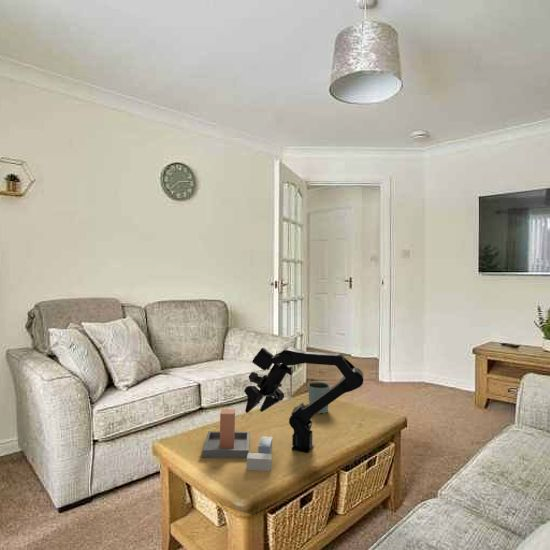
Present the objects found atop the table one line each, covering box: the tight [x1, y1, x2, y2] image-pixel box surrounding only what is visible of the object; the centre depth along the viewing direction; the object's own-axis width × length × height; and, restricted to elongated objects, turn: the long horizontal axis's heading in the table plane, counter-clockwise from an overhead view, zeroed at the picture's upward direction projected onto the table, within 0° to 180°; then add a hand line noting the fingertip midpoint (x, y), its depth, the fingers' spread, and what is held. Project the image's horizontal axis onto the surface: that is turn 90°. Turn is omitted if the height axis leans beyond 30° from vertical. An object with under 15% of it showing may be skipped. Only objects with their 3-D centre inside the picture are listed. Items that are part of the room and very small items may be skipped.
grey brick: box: [246, 452, 273, 472], centre depth 133 cm, size 8×4×4 cm, turn 87°
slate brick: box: [257, 436, 273, 454], centre depth 145 cm, size 8×4×4 cm, turn 174°
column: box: [219, 408, 236, 448], centre depth 147 cm, size 5×5×12 cm
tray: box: [201, 430, 251, 459], centre depth 148 cm, size 16×16×3 cm
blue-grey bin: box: [307, 381, 331, 414], centre depth 188 cm, size 10×10×12 cm
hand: (253, 411), depth 152 cm, fingers open, 9 cm apart
